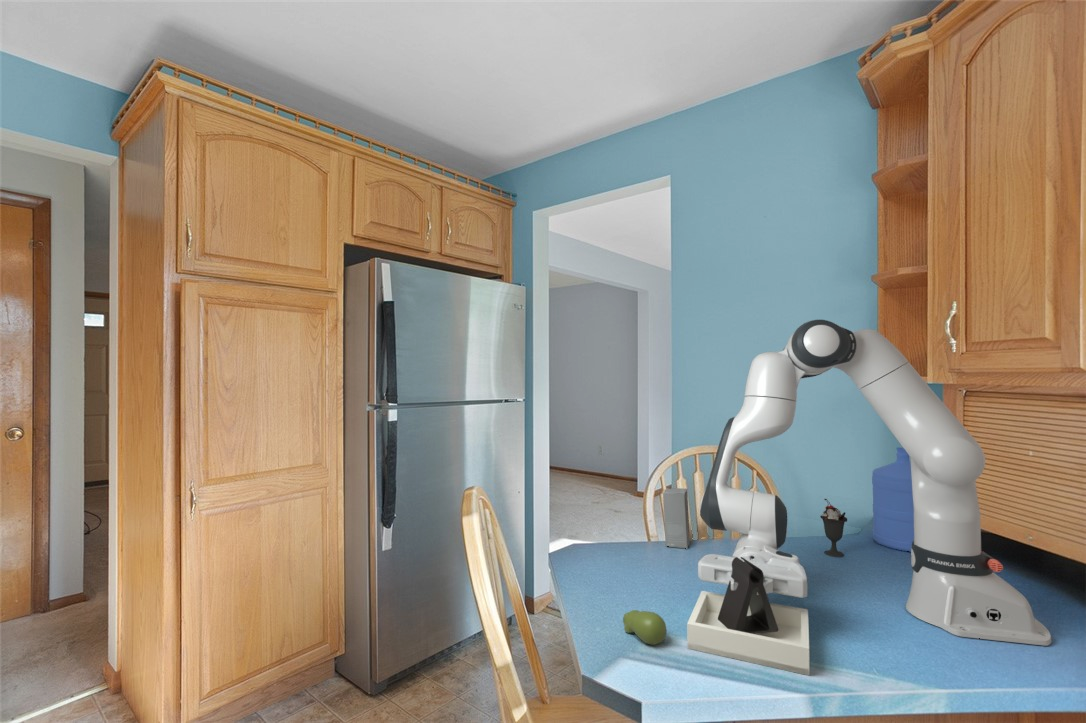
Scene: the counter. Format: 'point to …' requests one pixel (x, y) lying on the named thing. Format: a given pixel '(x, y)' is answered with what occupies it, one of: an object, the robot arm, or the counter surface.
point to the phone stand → (747, 601)
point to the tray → (751, 636)
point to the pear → (645, 626)
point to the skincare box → (676, 517)
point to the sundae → (833, 528)
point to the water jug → (894, 504)
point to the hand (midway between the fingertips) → (747, 589)
